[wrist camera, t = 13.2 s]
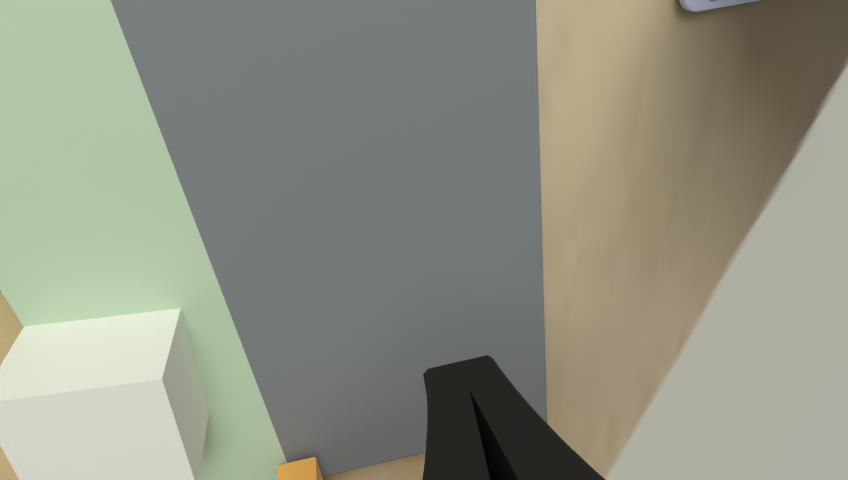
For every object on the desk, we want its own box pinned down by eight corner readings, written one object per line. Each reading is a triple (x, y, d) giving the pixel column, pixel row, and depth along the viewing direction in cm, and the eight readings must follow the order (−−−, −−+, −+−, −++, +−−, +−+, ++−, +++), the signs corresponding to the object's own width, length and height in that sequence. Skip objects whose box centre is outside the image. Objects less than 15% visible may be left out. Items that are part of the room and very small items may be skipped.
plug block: (180, 308, 21) (162, 379, 18) (209, 411, 23) (197, 488, 20) (23, 326, 20) (-23, 403, 17) (71, 430, 23) (38, 513, 20)
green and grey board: (519, -148, 17) (531, -149, 16) (539, 406, 28) (546, 423, 27) (-177, -42, 15) (-204, -37, 14) (148, 499, 27) (143, 519, 26)
